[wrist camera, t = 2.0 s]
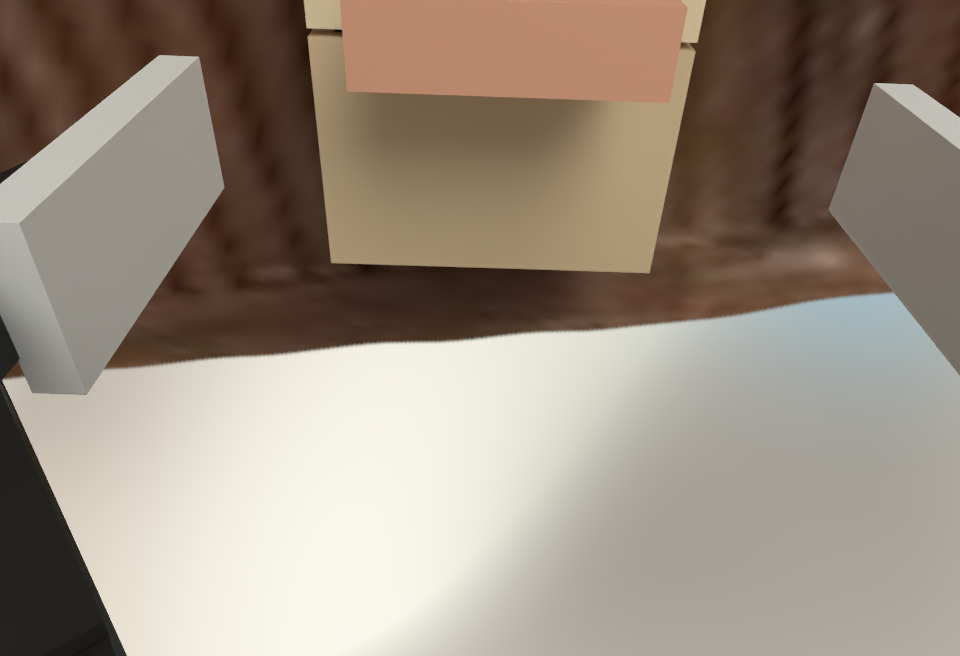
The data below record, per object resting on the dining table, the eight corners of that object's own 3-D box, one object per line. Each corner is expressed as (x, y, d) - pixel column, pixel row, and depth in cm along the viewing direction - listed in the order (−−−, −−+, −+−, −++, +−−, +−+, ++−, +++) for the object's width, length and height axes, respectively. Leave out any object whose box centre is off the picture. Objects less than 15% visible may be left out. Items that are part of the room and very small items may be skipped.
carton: (364, 164, 40) (331, 267, 32) (333, -311, 28) (266, -353, 20) (615, 172, 41) (651, 277, 32) (689, -295, 29) (778, -330, 20)
